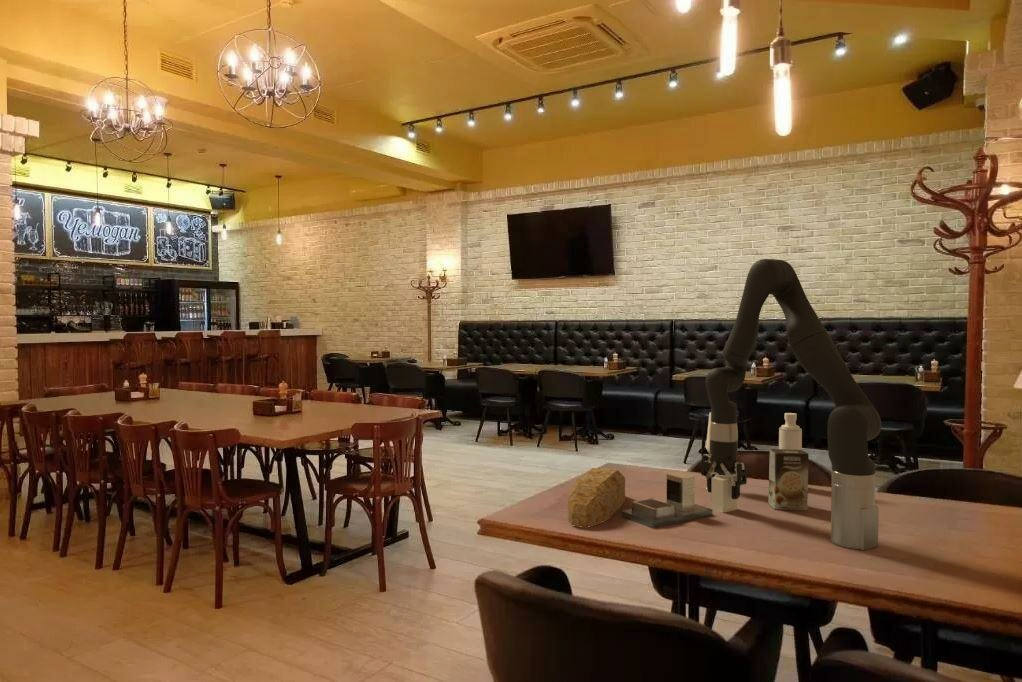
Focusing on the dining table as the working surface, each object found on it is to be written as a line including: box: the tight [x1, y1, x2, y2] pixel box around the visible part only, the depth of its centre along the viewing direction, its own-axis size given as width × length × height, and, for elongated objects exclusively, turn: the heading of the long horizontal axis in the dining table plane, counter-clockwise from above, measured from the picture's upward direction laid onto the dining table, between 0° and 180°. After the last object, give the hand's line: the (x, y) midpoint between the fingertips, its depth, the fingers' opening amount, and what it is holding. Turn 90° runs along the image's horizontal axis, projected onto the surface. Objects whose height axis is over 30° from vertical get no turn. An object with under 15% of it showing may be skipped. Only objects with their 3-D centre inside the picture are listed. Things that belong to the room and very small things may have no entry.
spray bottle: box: [778, 412, 803, 451], centre depth 215 cm, size 7×7×25 cm
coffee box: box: [767, 448, 810, 511], centre depth 192 cm, size 9×6×16 cm
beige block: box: [710, 475, 738, 513], centre depth 190 cm, size 5×6×9 cm
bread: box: [567, 467, 626, 528], centre depth 191 cm, size 36×11×10 cm, turn 157°
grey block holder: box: [621, 471, 713, 529], centre depth 184 cm, size 12×22×10 cm, turn 121°
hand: (722, 495), depth 190 cm, fingers open, 8 cm apart
